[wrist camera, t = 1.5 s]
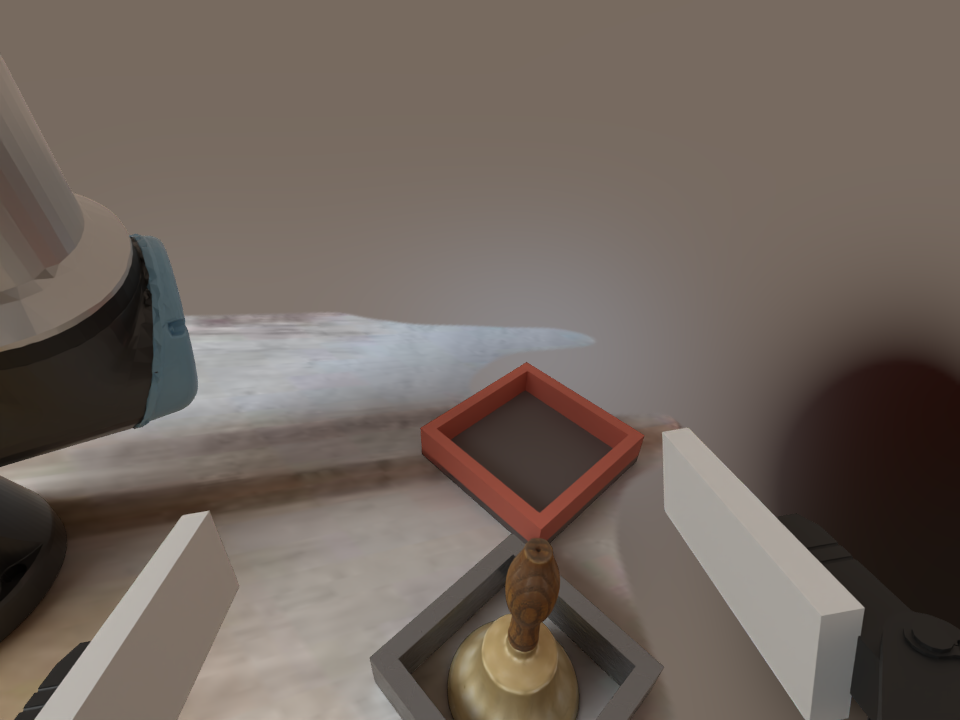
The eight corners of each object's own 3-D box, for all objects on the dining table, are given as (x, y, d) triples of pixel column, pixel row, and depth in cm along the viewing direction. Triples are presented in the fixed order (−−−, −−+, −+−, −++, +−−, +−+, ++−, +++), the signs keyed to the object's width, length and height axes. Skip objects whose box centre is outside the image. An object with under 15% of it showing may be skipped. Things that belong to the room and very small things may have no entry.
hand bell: (606, 710, 32) (672, 572, 22) (494, 801, 29) (515, 684, 19) (526, 598, 38) (552, 448, 28) (424, 663, 34) (412, 517, 24)
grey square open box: (375, 681, 33) (369, 657, 31) (509, 559, 40) (512, 533, 38) (518, 879, 26) (524, 865, 24) (650, 690, 33) (664, 666, 31)
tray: (421, 453, 48) (420, 428, 46) (523, 386, 56) (526, 362, 54) (536, 555, 40) (541, 529, 38) (636, 461, 48) (644, 435, 46)
